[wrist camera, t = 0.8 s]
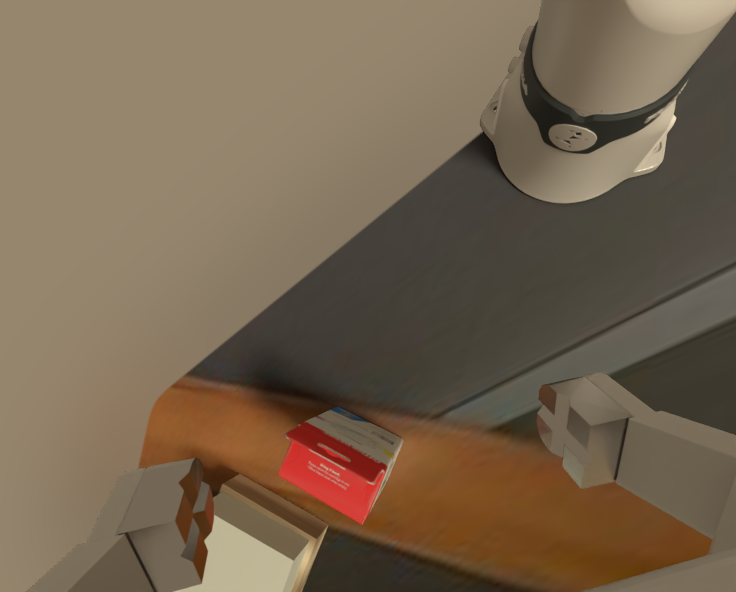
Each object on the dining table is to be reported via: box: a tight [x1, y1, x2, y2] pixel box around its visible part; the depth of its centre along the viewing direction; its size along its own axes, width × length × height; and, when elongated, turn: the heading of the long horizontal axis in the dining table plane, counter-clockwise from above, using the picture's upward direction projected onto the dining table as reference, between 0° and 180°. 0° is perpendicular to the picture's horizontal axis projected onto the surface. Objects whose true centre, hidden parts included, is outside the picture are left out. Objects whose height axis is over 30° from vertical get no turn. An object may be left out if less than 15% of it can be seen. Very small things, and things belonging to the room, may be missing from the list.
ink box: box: [278, 407, 403, 524], centre depth 37 cm, size 8×5×15 cm, turn 66°
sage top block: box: [174, 492, 310, 592], centre depth 40 cm, size 11×11×4 cm
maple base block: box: [218, 474, 328, 592], centre depth 44 cm, size 12×12×4 cm
